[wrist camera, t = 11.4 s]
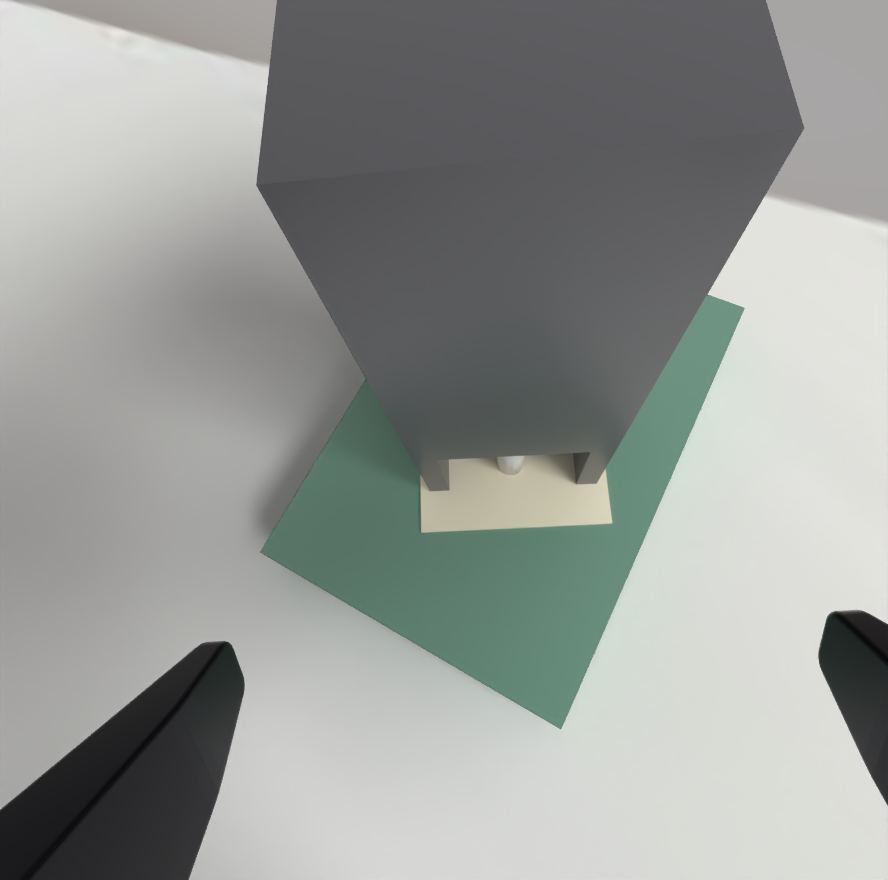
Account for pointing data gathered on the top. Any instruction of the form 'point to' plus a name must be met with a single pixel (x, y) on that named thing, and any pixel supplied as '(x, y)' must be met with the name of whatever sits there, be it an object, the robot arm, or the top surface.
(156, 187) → the top surface
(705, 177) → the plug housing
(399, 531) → the board
